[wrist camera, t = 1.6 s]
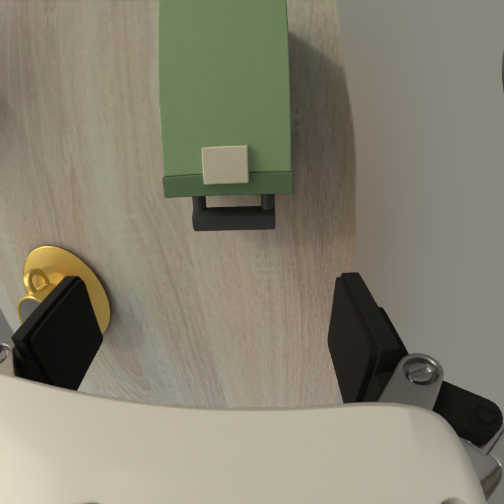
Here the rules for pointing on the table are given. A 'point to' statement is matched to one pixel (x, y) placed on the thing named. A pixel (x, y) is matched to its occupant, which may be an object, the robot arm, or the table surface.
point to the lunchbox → (225, 107)
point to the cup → (51, 273)
